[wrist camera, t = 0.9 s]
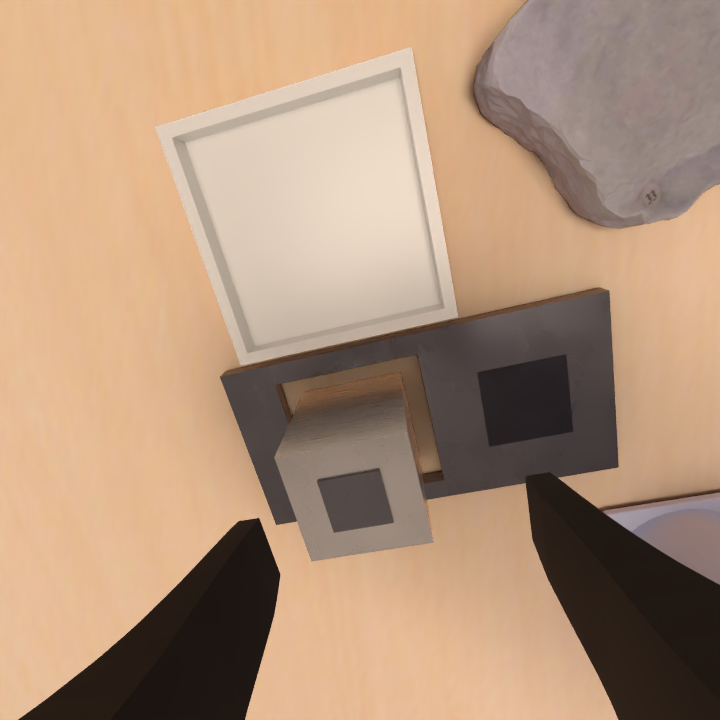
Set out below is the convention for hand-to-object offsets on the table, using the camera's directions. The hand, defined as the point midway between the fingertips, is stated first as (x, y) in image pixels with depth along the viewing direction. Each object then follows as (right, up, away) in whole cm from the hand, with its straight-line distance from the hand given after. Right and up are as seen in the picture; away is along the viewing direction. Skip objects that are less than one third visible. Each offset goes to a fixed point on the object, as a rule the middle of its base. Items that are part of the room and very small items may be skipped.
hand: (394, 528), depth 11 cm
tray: (-3, +10, +7) cm, 13 cm away
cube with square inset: (-1, +1, +10) cm, 10 cm away
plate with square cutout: (+2, +2, +10) cm, 10 cm away
